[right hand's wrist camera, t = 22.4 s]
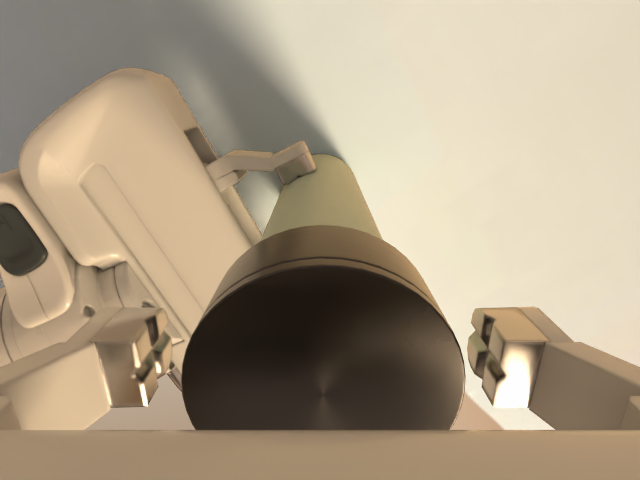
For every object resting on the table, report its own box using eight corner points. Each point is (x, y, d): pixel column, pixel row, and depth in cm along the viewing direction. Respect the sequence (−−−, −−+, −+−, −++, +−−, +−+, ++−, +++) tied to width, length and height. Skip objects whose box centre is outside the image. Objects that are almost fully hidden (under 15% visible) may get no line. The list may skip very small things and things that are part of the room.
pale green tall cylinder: (333, 236, 27) (355, 477, 10) (272, 202, 26) (181, 401, 9) (370, 177, 25) (474, 339, 8) (307, 139, 24) (279, 233, 7)
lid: (186, 241, 9) (143, 287, 7) (427, 208, 9) (464, 245, 7) (238, 424, 11) (218, 506, 9) (437, 402, 11) (467, 480, 9)
